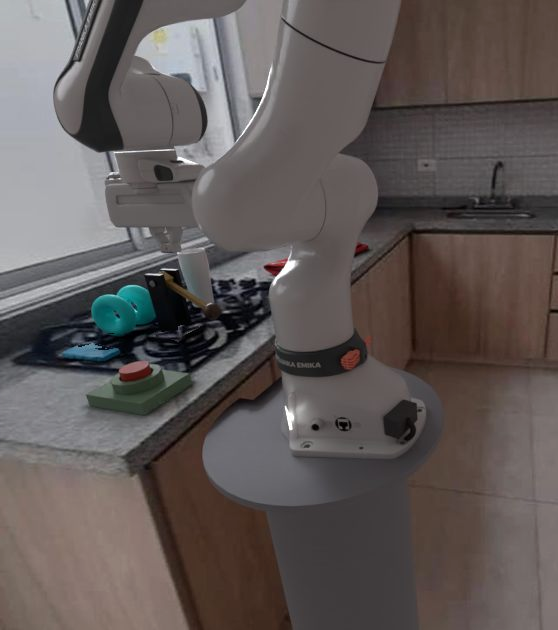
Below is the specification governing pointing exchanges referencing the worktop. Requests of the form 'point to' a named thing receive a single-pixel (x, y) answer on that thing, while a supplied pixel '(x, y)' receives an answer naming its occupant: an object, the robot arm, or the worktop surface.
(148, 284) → the bracket
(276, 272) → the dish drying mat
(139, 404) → the button box
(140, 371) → the button
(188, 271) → the drinking glass
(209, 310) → the lever
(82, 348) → the sponge
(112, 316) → the turquoise double disc spool
